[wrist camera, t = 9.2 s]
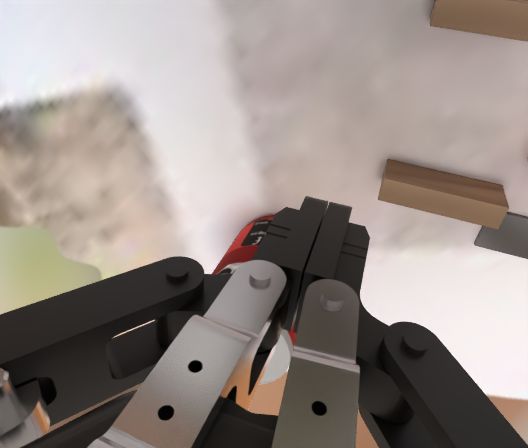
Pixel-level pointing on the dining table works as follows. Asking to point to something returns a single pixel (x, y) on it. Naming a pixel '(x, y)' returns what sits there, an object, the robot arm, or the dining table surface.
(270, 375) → the canned food
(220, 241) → the dining table surface
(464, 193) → the trap lane
